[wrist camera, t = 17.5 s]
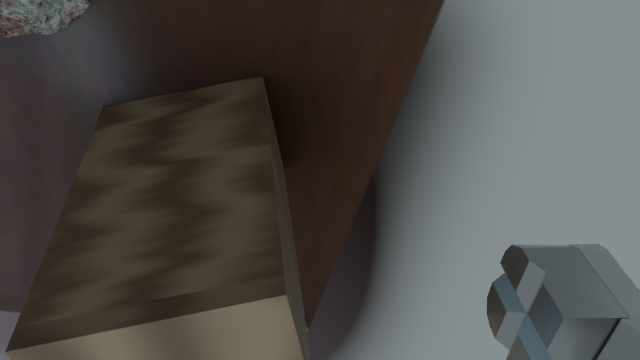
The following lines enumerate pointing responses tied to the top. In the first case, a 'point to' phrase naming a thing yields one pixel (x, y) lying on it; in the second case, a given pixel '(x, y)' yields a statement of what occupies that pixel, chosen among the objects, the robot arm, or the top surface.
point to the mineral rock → (38, 16)
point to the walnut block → (172, 239)
